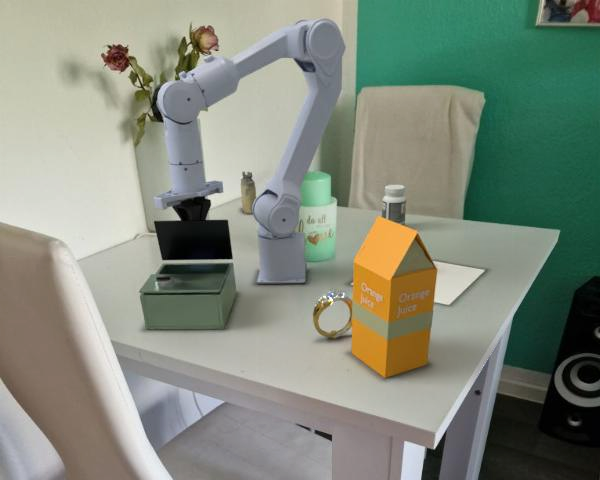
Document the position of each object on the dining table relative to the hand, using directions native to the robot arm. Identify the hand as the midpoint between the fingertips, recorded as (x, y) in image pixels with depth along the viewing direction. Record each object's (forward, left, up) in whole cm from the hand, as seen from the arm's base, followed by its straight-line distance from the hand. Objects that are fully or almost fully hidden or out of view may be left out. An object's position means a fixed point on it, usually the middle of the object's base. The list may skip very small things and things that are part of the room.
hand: (196, 241), depth 102 cm
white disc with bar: (-1, +14, -3) cm, 15 cm away
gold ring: (-25, +20, -10) cm, 34 cm away
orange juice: (-33, +27, -10) cm, 44 cm away
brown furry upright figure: (-2, -58, -10) cm, 58 cm away
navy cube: (0, +6, -9) cm, 11 cm away
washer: (0, +9, -10) cm, 13 cm away
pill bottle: (-40, -39, -10) cm, 57 cm away
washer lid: (0, +3, +1) cm, 3 cm away
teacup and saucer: (-42, -6, -10) cm, 44 cm away
